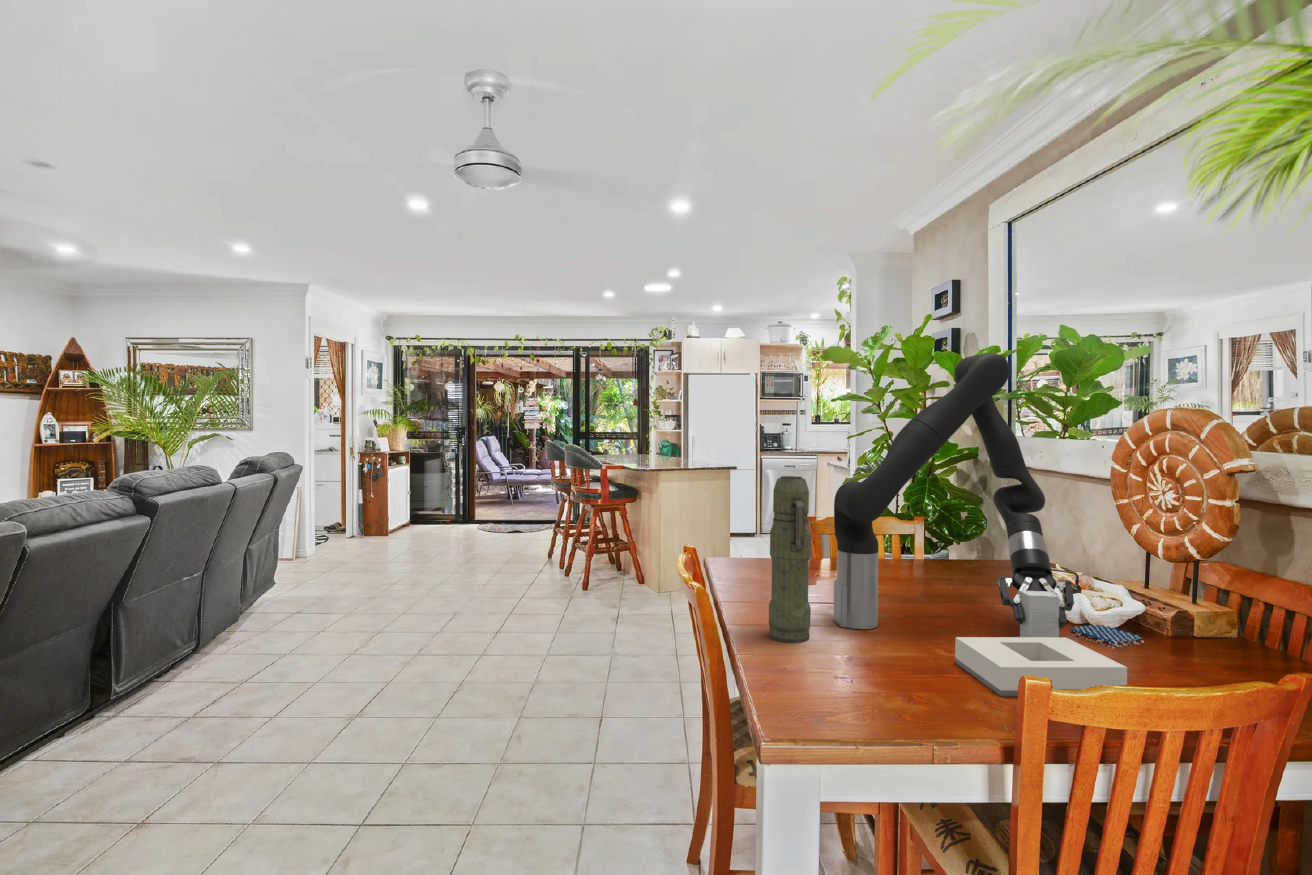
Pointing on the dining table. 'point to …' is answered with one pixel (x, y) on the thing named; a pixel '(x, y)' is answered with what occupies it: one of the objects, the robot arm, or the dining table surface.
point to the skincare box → (1039, 614)
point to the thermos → (790, 561)
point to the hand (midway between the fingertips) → (1041, 624)
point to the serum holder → (1035, 663)
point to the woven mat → (1106, 635)
